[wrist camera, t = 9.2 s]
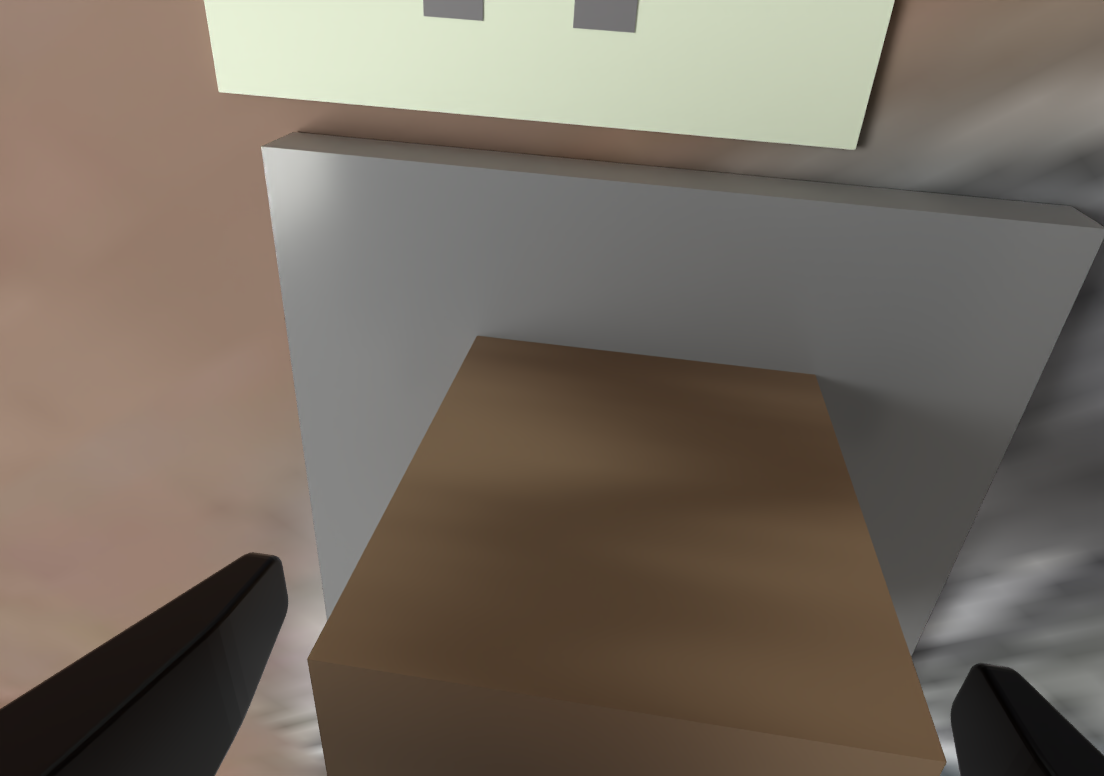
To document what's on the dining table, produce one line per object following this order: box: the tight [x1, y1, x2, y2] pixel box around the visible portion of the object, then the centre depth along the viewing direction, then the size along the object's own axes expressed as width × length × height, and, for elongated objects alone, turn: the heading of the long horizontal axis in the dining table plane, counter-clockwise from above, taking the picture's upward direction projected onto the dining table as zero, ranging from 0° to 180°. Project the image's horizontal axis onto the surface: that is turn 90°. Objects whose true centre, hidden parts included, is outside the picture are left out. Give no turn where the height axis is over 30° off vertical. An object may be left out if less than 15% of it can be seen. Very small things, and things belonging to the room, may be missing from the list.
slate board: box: [261, 132, 1104, 656], centre depth 13 cm, size 11×10×1 cm
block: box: [307, 336, 947, 776], centre depth 10 cm, size 5×5×6 cm
